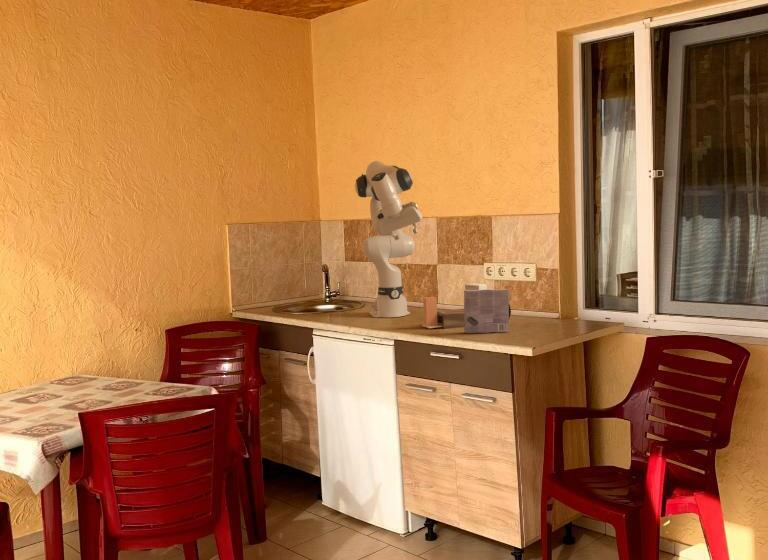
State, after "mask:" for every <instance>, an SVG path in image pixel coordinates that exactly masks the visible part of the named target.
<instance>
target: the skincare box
mask: <svg viewBox="0 0 768 560" xmlns="http://www.w3.org/2000/svg"><path fill="white" fill-rule="evenodd" d="M464 290H488V285H487V284H486V283H478V282H477V283H474V282H472V283H466V284H464Z"/></svg>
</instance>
